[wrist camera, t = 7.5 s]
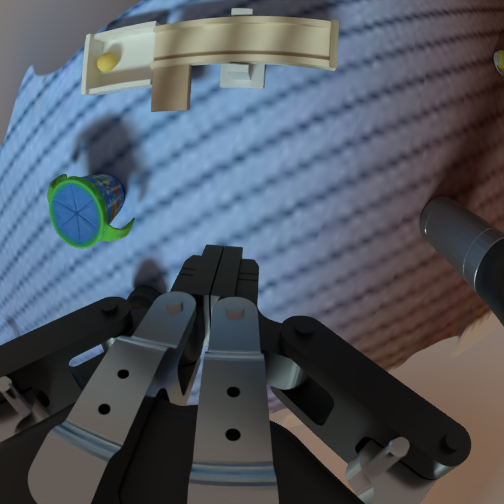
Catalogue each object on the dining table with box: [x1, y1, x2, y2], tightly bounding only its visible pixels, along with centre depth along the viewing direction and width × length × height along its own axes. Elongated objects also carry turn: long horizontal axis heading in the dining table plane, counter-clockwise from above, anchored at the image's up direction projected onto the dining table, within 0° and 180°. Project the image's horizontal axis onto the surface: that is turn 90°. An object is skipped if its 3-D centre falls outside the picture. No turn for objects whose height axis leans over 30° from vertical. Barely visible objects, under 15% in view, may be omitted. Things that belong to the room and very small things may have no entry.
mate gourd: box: [127, 286, 160, 310], centre depth 47 cm, size 7×8×10 cm
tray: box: [81, 21, 161, 95], centre depth 30 cm, size 11×10×5 cm
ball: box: [97, 52, 117, 72], centre depth 30 cm, size 3×3×3 cm
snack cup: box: [47, 174, 135, 249], centre depth 37 cm, size 16×10×10 cm
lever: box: [150, 16, 339, 112], centre depth 26 cm, size 22×12×3 cm, turn 86°
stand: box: [220, 8, 265, 89], centre depth 28 cm, size 6×11×8 cm, turn 177°
